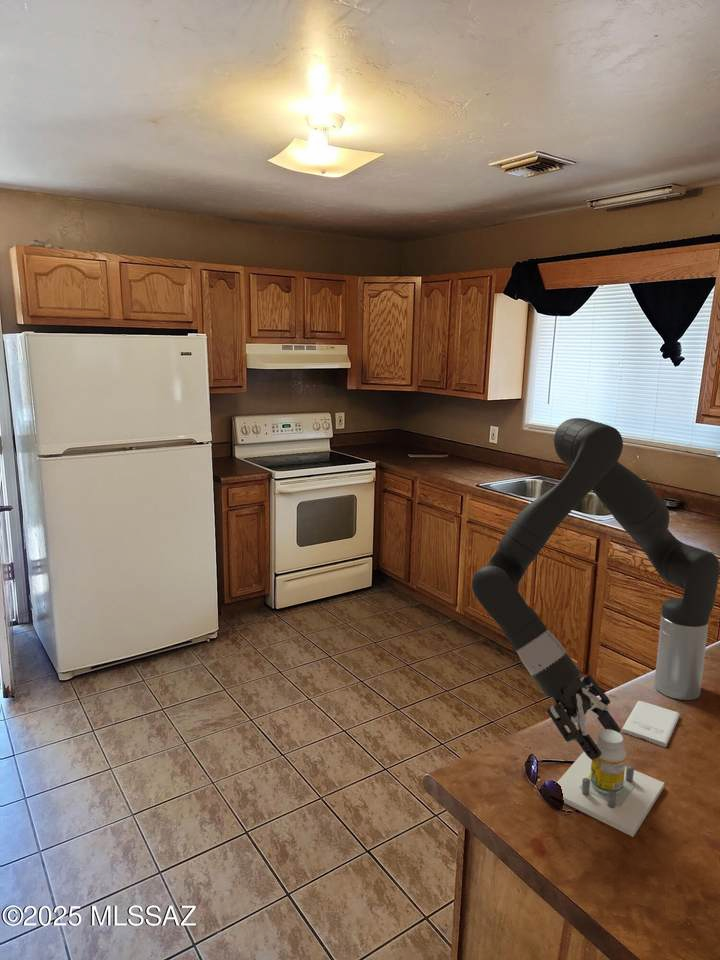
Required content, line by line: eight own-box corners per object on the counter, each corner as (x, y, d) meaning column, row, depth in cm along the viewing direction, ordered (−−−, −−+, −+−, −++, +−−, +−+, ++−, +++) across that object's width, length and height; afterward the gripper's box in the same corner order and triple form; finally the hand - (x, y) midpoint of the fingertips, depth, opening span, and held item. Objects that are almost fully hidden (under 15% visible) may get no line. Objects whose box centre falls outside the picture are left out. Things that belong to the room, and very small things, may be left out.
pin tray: (585, 753, 119) (586, 737, 118) (663, 787, 109) (665, 770, 109) (549, 795, 108) (550, 777, 107) (633, 837, 98) (635, 817, 98)
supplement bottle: (623, 799, 105) (627, 748, 103) (589, 791, 107) (593, 741, 105) (622, 779, 110) (627, 730, 108) (590, 771, 112) (594, 723, 110)
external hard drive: (679, 719, 130) (665, 750, 120) (637, 706, 135) (621, 734, 125) (679, 712, 130) (666, 742, 120) (637, 699, 135) (621, 727, 125)
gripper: (544, 668, 105) (607, 758, 100) (579, 639, 115) (638, 719, 110) (514, 686, 109) (573, 773, 104) (550, 656, 120) (606, 734, 115)
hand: (607, 745), depth 107 cm, fingers open, 8 cm apart
